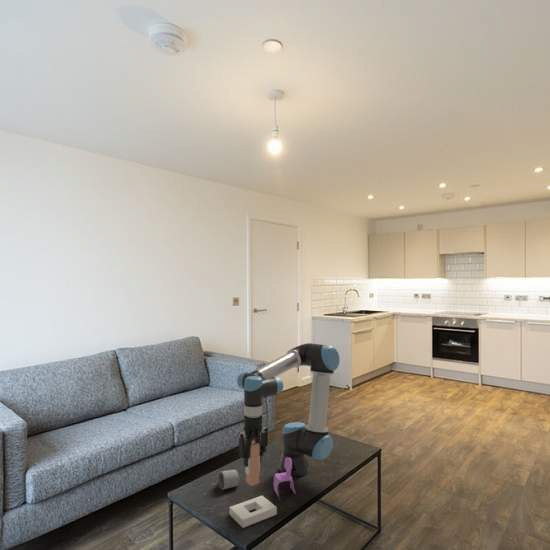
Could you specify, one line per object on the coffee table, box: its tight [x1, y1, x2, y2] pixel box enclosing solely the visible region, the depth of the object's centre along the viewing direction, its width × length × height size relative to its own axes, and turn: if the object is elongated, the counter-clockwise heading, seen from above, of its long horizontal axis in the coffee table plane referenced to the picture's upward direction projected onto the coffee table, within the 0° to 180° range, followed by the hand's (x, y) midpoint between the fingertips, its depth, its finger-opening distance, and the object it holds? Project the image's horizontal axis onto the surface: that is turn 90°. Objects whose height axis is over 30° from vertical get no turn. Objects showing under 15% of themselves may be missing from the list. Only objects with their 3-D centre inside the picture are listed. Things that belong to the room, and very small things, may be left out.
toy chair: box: [273, 457, 297, 498], centre depth 181 cm, size 8×9×15 cm
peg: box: [245, 440, 260, 487], centre depth 164 cm, size 4×4×16 cm
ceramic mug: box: [218, 469, 240, 491], centre depth 187 cm, size 11×8×8 cm
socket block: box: [228, 495, 278, 529], centre depth 163 cm, size 16×11×3 cm
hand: (252, 472), depth 163 cm, fingers closed on peg, 4 cm apart
